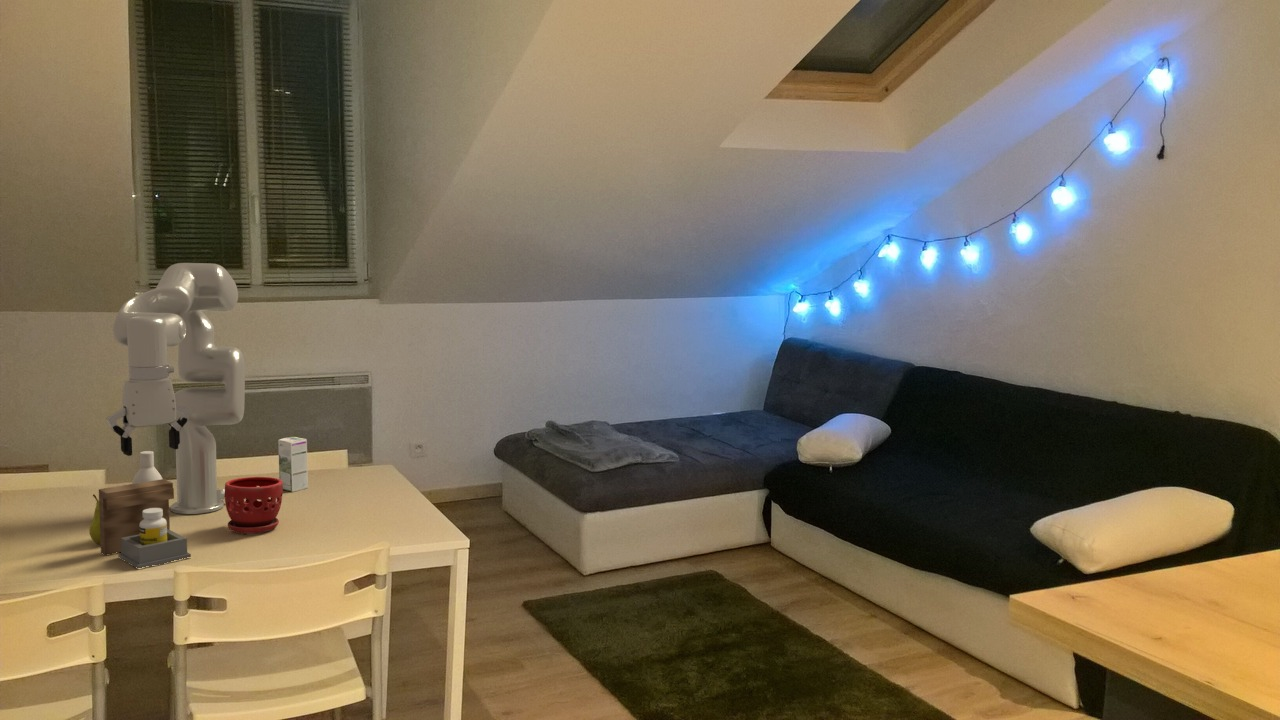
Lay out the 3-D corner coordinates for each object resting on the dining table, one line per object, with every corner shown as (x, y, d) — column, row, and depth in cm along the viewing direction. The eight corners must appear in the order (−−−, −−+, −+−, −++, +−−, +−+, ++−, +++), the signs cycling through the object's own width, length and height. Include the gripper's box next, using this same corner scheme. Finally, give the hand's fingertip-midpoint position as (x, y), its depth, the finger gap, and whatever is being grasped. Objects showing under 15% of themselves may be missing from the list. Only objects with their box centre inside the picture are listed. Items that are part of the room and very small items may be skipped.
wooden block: (165, 540, 227) (163, 478, 226) (175, 545, 224) (173, 483, 222) (101, 553, 217) (98, 489, 215) (110, 558, 213) (107, 493, 212)
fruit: (123, 540, 227) (121, 489, 225) (110, 547, 221) (108, 496, 219) (97, 539, 226) (95, 489, 225) (84, 547, 221) (82, 495, 219)
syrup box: (308, 488, 277) (308, 438, 276) (291, 492, 272) (290, 441, 271) (295, 485, 280) (294, 435, 279) (278, 489, 275) (277, 439, 274)
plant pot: (277, 536, 233) (276, 487, 231) (219, 537, 230) (218, 488, 229) (288, 520, 245) (287, 474, 244) (233, 521, 243) (231, 475, 242)
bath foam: (129, 539, 227) (126, 455, 224) (137, 531, 234) (134, 449, 231) (161, 538, 228) (158, 454, 226) (168, 530, 235) (166, 448, 233)
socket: (169, 547, 222) (169, 527, 222) (190, 558, 215) (190, 538, 215) (118, 557, 214) (117, 537, 214) (138, 569, 207) (137, 549, 206)
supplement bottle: (134, 556, 212) (133, 512, 211) (151, 548, 218) (149, 505, 216) (157, 558, 212) (155, 514, 210) (173, 550, 217) (171, 507, 216)
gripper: (181, 368, 219) (184, 443, 221) (98, 375, 206) (101, 454, 208) (196, 372, 214) (198, 448, 216) (112, 379, 201) (115, 460, 203)
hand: (151, 451), depth 212 cm, fingers open, 9 cm apart
